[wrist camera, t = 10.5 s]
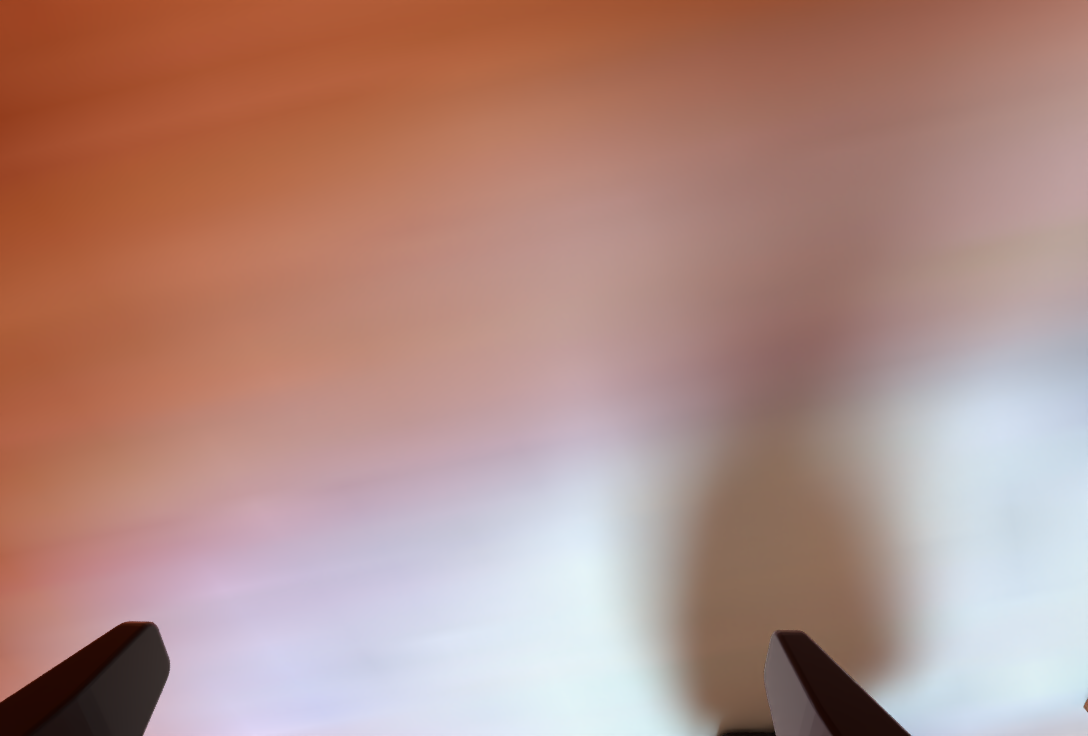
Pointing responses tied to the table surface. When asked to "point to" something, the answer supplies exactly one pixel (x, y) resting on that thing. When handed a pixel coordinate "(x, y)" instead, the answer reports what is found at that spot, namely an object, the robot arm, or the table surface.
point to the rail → (1086, 705)
